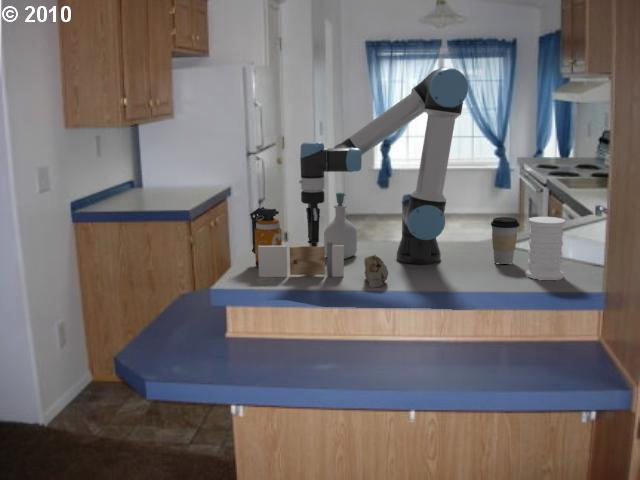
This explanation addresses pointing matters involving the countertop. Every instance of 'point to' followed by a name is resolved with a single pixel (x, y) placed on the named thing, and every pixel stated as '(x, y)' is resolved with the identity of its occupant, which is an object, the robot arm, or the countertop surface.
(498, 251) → the coffee cup
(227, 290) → the countertop surface
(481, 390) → the countertop surface
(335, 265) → the wall
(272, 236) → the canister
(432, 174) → the robot arm
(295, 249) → the door
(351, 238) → the soap bottle
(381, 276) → the rock
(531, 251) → the decorative container
